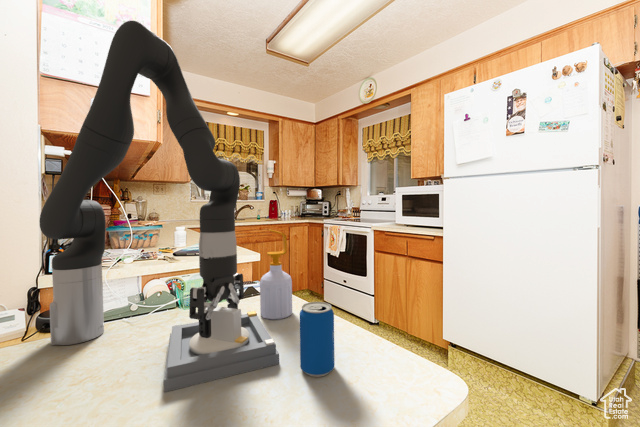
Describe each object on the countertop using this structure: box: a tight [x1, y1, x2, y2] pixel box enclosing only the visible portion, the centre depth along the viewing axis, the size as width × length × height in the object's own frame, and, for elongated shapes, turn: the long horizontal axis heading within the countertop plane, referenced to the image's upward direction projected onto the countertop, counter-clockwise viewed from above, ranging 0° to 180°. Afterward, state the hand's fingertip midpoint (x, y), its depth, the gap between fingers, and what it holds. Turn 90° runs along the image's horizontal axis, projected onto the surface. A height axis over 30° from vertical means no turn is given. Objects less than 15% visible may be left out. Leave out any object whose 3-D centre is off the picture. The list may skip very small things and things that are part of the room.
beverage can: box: [299, 301, 335, 378], centre depth 55 cm, size 6×6×12 cm
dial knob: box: [189, 305, 249, 355], centre depth 62 cm, size 12×12×7 cm
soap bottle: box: [259, 228, 293, 320], centre depth 83 cm, size 9×9×25 cm
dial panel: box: [163, 310, 280, 393], centre depth 62 cm, size 20×20×4 cm
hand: (220, 328), depth 62 cm, fingers open, 8 cm apart
